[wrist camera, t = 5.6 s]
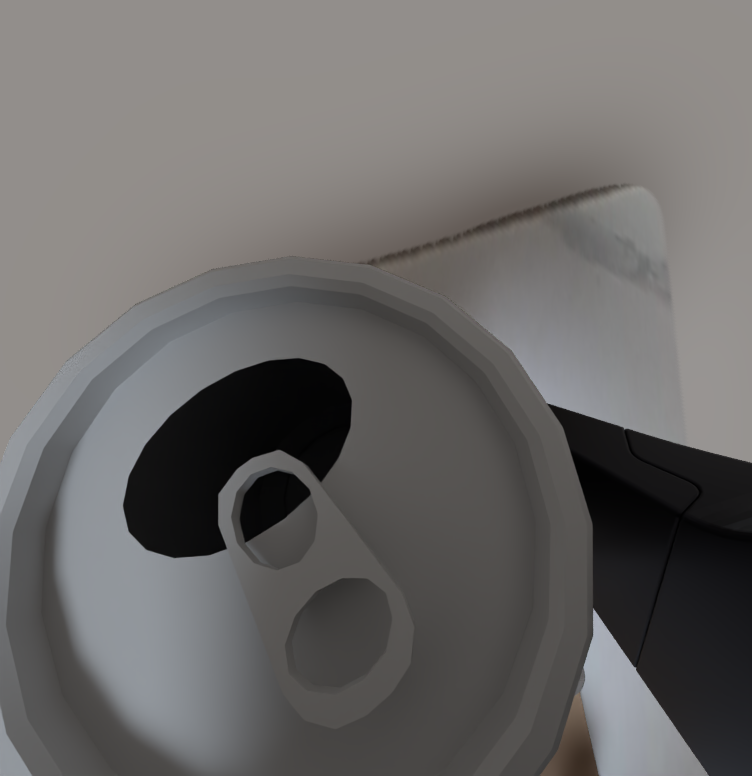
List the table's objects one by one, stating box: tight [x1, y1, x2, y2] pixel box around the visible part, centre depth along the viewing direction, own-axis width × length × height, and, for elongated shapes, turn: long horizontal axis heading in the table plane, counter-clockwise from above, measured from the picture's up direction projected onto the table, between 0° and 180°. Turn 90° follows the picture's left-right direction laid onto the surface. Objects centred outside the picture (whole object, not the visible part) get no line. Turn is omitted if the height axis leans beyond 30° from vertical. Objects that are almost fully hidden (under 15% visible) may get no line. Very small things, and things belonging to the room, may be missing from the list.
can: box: [0, 256, 593, 776], centre depth 9 cm, size 8×8×12 cm
